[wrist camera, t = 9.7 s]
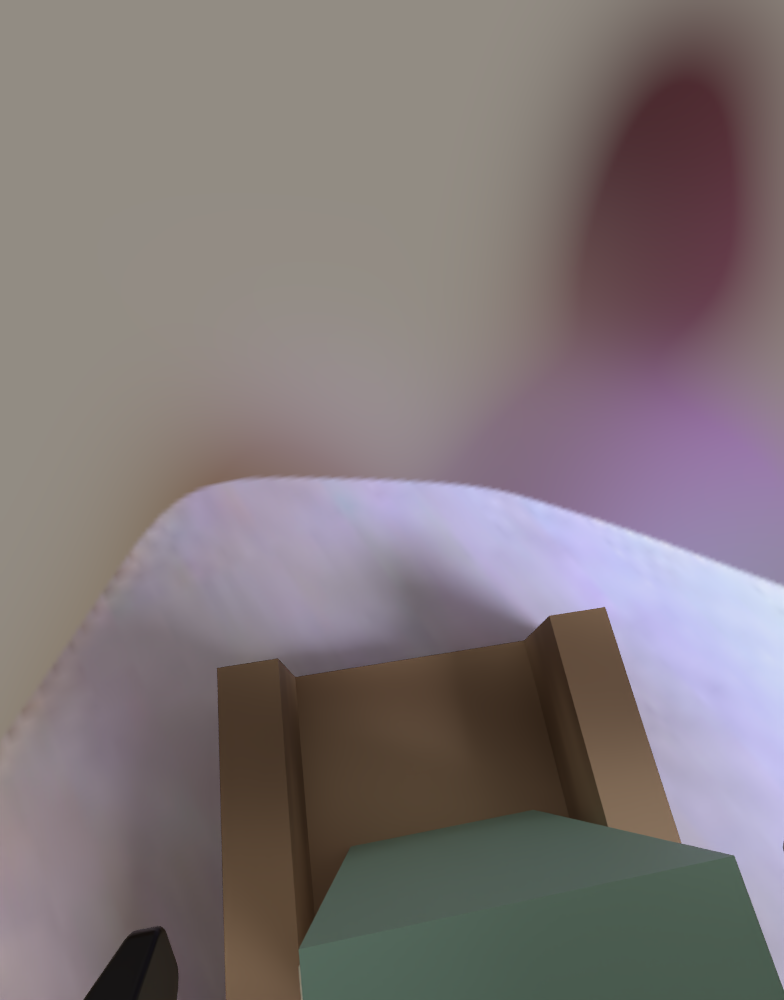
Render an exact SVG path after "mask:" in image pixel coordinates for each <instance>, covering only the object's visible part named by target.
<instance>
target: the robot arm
mask: <svg viewBox="0 0 784 1000" xmlns="http://www.w3.org/2000/svg"><path fill="white" fill-rule="evenodd" d="M783 850H784V843H783ZM177 991H178V967H177V963H176V960H175V957H174V954H173V951H172V948H171V945H170V942H169V939H168V937H167V934H166V931H165V929H164V928H162V927H161V926H157V927H151V928H146V929H141V930H136V931H134V932H132V933H131V934H130V935H129V936H128V937H127V938H126V939H125V940H124V942H123V943H122V945H121V946H120V948H119V949H118V950H117V952H116V953H115V955H114V956H113V958H112V959H111V961H110V962H109V964H108V965H107V966H106V968H105V969H104V971H103V972H102V974H101V975H100V977H99V978H98V979H97V981H96V982H95V984H94V985H93V987H92V988H91V990H90V991H89V992H88V994H87V995H86V997H85V998H84V1000H177Z"/></svg>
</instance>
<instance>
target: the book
mask: <svg viewBox="0 0 784 1000" xmlns="http://www.w3.org/2000/svg"><path fill="white" fill-rule="evenodd" d="M299 960H300V965H299V967H298V968H299V981H300V993H301V1000H784V990H783V987H782V984H781V982H780V979H779V976H778V974H777V971H776V968H775V965H774V963H773V960H772V957H771V955H770V952H769V949H768V946H767V944H766V941H765V938H764V936H763V933H762V930H761V927H760V925H759V922H758V919H757V916H756V914H755V911H754V908H753V906H752V903H751V900H750V897H749V895H748V892H747V889H746V887H745V884H744V881H743V878H742V876H741V873H740V870H739V868H738V865H737V862H736V859H735V857H734V856H733V855H729V854H724V853H720V852H716V851H711V850H707V849H703V848H698V847H694V846H689V845H685V844H681V843H676V842H672V841H668V840H663V839H659V838H654V837H650V836H646V835H641V834H637V833H633V832H628V831H624V830H620V829H615V828H611V827H606V826H602V825H598V824H593V823H589V822H585V821H580V820H576V819H571V818H567V817H563V816H558V815H554V814H550V813H545V812H541V811H537V810H530V811H525V812H520V813H515V814H510V815H505V816H500V817H495V818H490V819H485V820H480V821H475V822H470V823H465V824H460V825H455V826H450V827H445V828H440V829H435V830H430V831H426V832H421V833H416V834H411V835H406V836H401V837H396V838H391V839H386V840H381V841H376V842H371V843H366V844H361V845H356V846H351V847H350V849H349V851H348V853H347V855H346V857H345V859H344V861H343V863H342V865H341V867H340V869H339V871H338V873H337V875H336V877H335V878H334V880H333V882H332V884H331V886H330V888H329V890H328V892H327V894H326V896H325V898H324V900H323V902H322V904H321V906H320V908H319V910H318V912H317V914H316V916H315V918H314V920H313V922H312V924H311V926H310V928H309V930H308V932H307V934H306V936H305V938H304V940H303V942H302V944H301V945H300V947H299Z"/></svg>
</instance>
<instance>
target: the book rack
mask: <svg viewBox="0 0 784 1000" xmlns="http://www.w3.org/2000/svg"><path fill="white" fill-rule="evenodd" d="M217 679H218V718H219V756H220V795H221V834H222V872H223V911H224V950H225V988H226V1000H301V993H300V981H299V968H298V967H299V965H300V960H299V947H300V945H301V944H302V942H303V940H304V938H305V936H306V934H307V932H308V930H309V928H310V926H311V924H312V922H313V920H314V918H315V916H316V914H317V912H318V910H319V908H320V906H321V904H322V902H323V900H324V898H325V896H326V894H327V892H328V890H329V888H330V886H331V884H332V882H333V880H334V878H335V877H336V875H337V873H338V871H339V869H340V867H341V865H342V863H343V861H344V859H345V857H346V855H347V853H348V851H349V849H350V847H351V846H356V845H361V844H366V843H371V842H376V841H381V840H386V839H391V838H396V837H401V836H406V835H411V834H416V833H421V832H426V831H430V830H435V829H440V828H445V827H450V826H455V825H460V824H465V823H470V822H475V821H480V820H485V819H490V818H495V817H500V816H505V815H510V814H515V813H520V812H525V811H530V810H537V811H541V812H545V813H550V814H554V815H558V816H563V817H567V818H571V819H576V820H580V821H585V822H589V823H593V824H598V825H602V826H606V827H611V828H615V829H620V830H624V831H628V832H633V833H637V834H641V835H646V836H650V837H654V838H659V839H663V840H668V841H672V842H676V843H681V841H680V838H679V834H678V831H677V828H676V825H675V822H674V819H673V816H672V813H671V810H670V807H669V804H668V800H667V797H666V794H665V791H664V788H663V785H662V782H661V779H660V776H659V773H658V769H657V766H656V763H655V760H654V757H653V754H652V751H651V748H650V745H649V742H648V739H647V735H646V732H645V729H644V726H643V723H642V720H641V717H640V714H639V711H638V708H637V704H636V701H635V698H634V695H633V692H632V689H631V686H630V683H629V680H628V677H627V674H626V670H625V667H624V664H623V661H622V658H621V655H620V652H619V649H618V646H617V643H616V639H615V636H614V633H613V630H612V627H611V624H610V621H609V618H608V615H607V612H606V609H605V607H603V608H597V609H590V610H584V611H577V612H571V613H565V614H558V615H552V616H549V617H548V618H547V619H546V620H545V621H544V622H543V623H542V624H541V625H540V626H539V627H538V628H537V629H536V630H535V631H534V632H533V633H531V634H530V635H529V636H528V637H527V638H526V639H525V640H524V641H518V642H512V643H506V644H500V645H493V646H487V647H481V648H475V649H468V650H462V651H456V652H450V653H443V654H437V655H431V656H424V657H418V658H412V659H406V660H399V661H393V662H387V663H381V664H374V665H368V666H362V667H356V668H349V669H343V670H337V671H331V672H324V673H318V674H312V675H306V676H299V677H295V676H294V675H293V674H292V673H291V672H290V671H289V670H288V669H287V668H286V667H285V666H284V664H283V663H282V662H281V661H280V660H279V659H272V660H265V661H259V662H253V663H246V664H240V665H233V666H227V667H221V668H217Z"/></svg>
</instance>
